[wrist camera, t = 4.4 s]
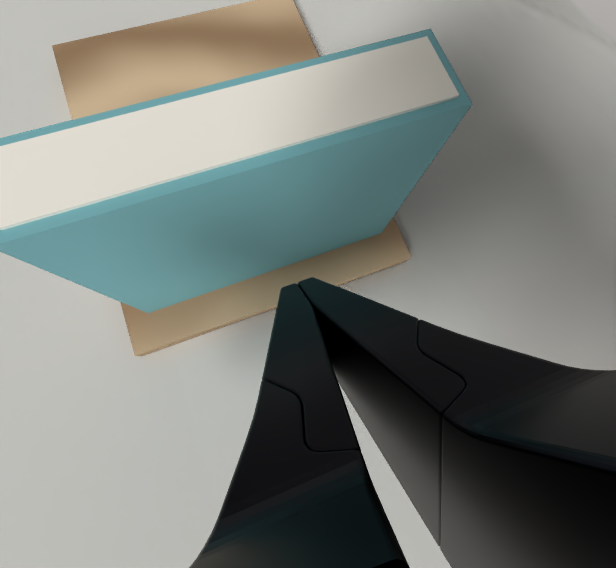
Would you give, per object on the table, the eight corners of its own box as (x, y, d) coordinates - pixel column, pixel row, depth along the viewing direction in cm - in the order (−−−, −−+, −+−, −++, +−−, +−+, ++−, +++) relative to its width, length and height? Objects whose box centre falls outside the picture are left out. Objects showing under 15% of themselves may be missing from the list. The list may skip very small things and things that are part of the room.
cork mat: (406, 261, 19) (411, 256, 18) (141, 356, 17) (134, 355, 16) (289, 6, 22) (289, -8, 21) (61, 58, 20) (52, 45, 19)
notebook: (381, 233, 18) (474, 101, 9) (145, 313, 16) (-20, 247, 7) (361, 189, 18) (432, 25, 10) (131, 263, 17) (-40, 144, 8)
